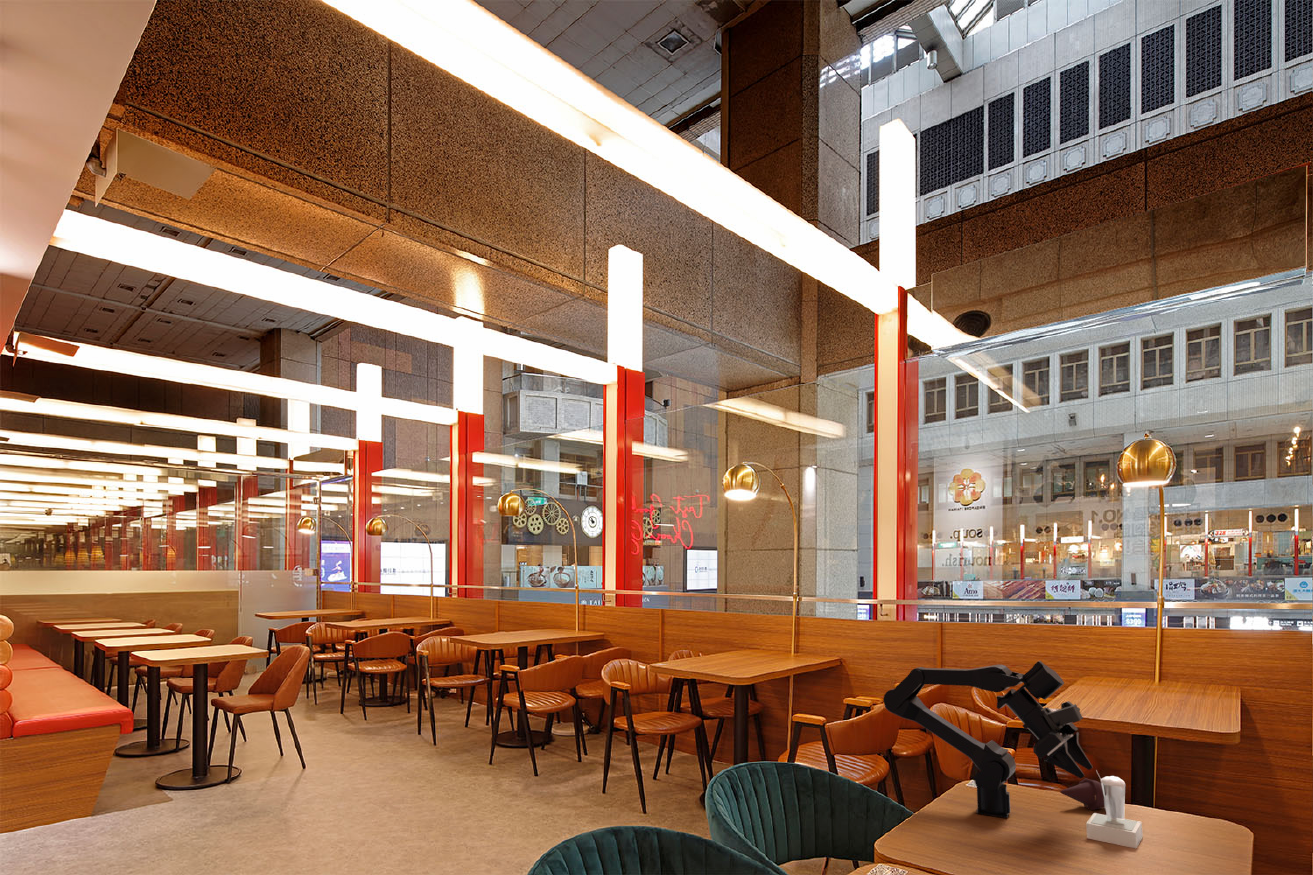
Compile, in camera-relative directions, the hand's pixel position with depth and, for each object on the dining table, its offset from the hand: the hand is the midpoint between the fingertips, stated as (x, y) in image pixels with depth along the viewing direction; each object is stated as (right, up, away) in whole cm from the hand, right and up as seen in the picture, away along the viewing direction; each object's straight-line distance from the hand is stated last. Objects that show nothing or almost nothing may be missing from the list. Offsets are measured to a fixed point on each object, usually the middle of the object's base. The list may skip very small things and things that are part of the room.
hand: (1087, 772), depth 171 cm
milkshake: (+3, -9, -4) cm, 10 cm away
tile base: (+3, -12, -5) cm, 13 cm away
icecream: (+9, -15, +15) cm, 23 cm away
